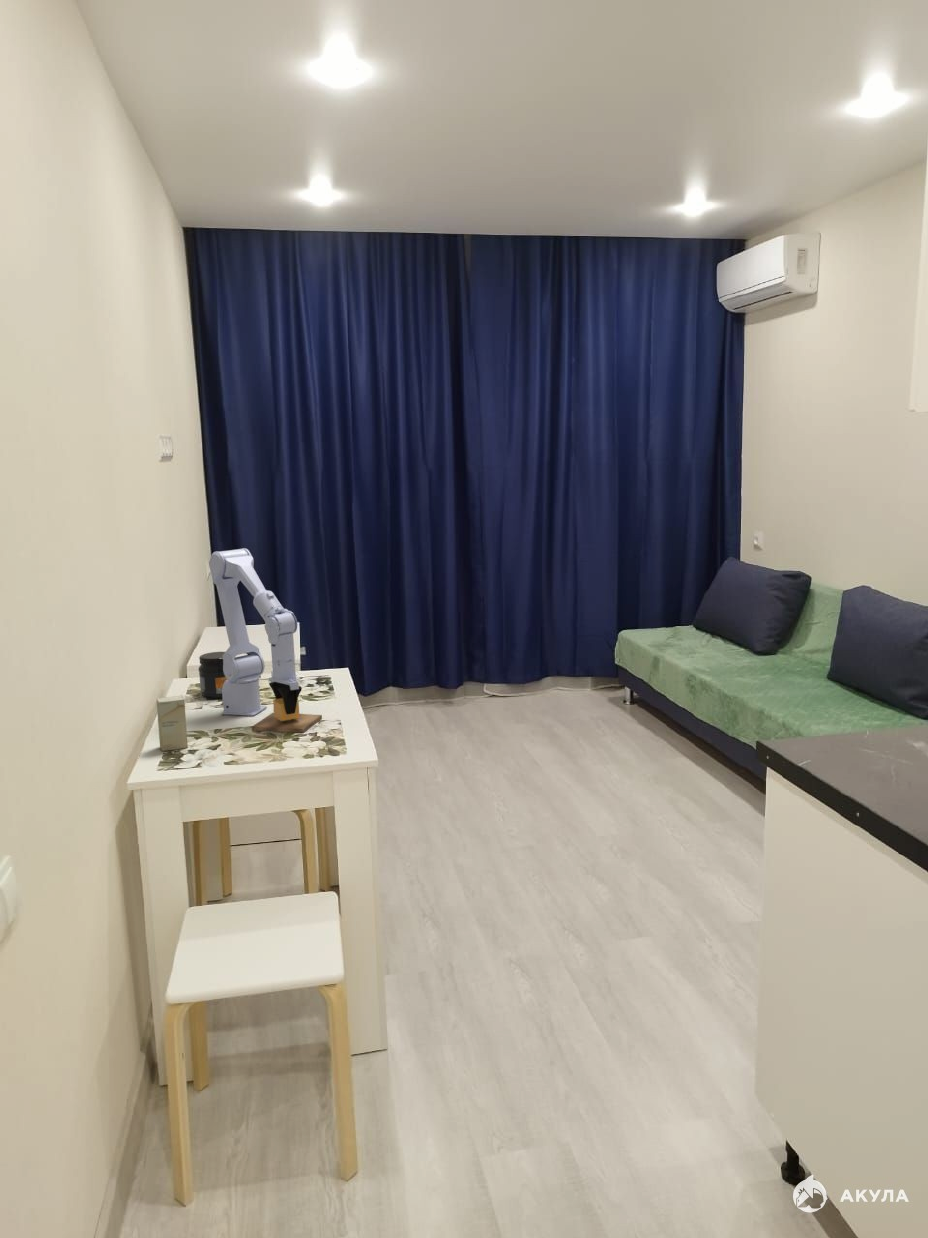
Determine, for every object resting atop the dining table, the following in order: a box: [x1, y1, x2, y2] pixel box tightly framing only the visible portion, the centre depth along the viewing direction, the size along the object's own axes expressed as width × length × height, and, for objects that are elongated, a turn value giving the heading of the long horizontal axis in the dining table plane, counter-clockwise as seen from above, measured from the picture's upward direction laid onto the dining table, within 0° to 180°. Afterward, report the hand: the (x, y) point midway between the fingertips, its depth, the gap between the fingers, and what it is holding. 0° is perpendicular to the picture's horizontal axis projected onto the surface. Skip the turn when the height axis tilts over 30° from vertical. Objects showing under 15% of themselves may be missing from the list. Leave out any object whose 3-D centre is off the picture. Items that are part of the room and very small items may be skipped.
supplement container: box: [198, 651, 227, 700], centre depth 260 cm, size 10×10×12 cm
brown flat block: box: [251, 712, 323, 734], centre depth 231 cm, size 14×12×4 cm
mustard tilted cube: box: [272, 698, 300, 721], centre depth 230 cm, size 5×5×4 cm
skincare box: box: [155, 694, 189, 752], centre depth 215 cm, size 6×4×12 cm
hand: (286, 710), depth 231 cm, fingers closed on mustard tilted cube, 5 cm apart
